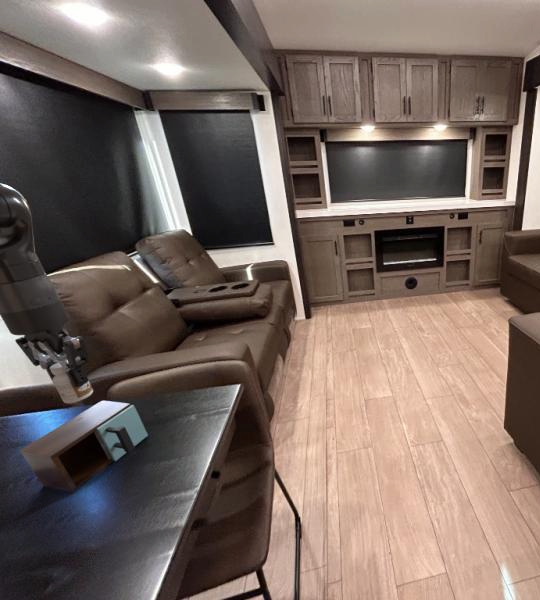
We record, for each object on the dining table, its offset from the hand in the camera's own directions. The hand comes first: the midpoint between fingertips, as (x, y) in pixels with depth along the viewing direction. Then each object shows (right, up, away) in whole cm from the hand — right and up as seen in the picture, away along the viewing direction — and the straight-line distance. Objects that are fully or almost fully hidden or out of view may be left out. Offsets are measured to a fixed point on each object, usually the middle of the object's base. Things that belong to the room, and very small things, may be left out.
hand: (71, 383), depth 62 cm
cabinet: (+2, -17, +4) cm, 17 cm away
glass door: (+9, -15, +5) cm, 18 cm away
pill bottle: (0, -3, +1) cm, 4 cm away
